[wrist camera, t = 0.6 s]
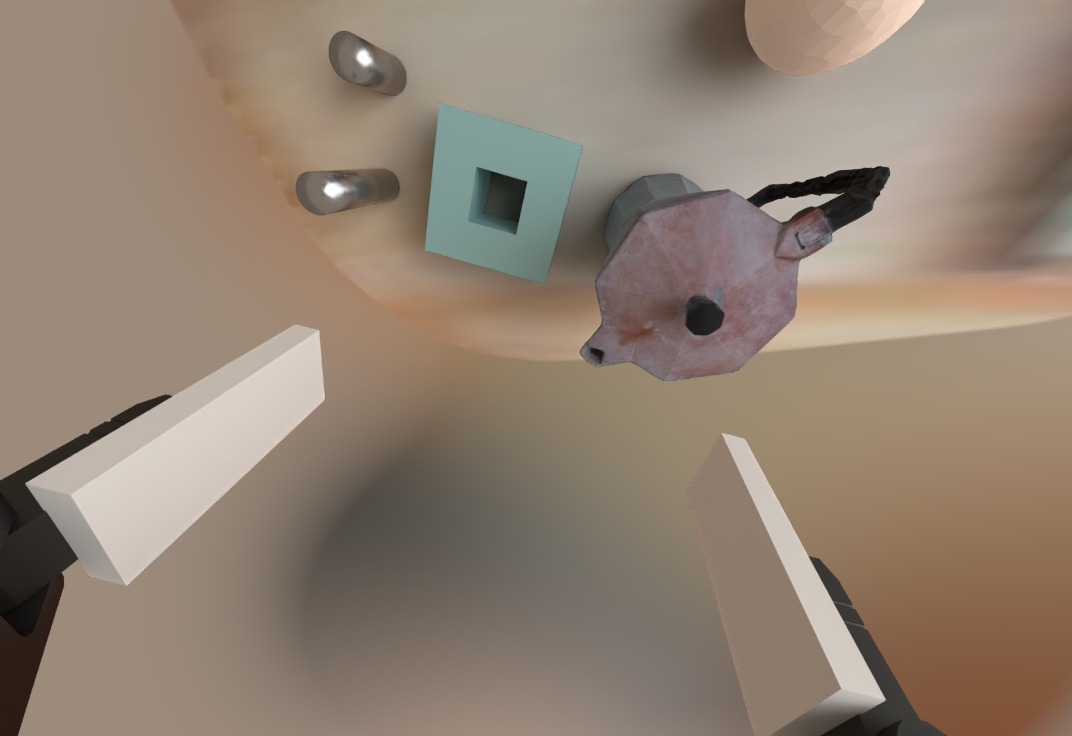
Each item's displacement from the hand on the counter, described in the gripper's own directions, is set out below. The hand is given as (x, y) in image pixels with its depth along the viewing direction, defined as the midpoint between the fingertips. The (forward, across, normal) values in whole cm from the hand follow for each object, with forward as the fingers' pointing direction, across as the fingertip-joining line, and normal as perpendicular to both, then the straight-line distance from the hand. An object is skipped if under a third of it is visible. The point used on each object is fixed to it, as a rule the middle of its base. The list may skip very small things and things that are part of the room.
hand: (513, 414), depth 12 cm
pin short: (+26, -16, +9) cm, 32 cm away
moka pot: (+26, +8, +4) cm, 27 cm away
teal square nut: (+25, -5, +3) cm, 26 cm away
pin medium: (+25, -16, +1) cm, 30 cm away
